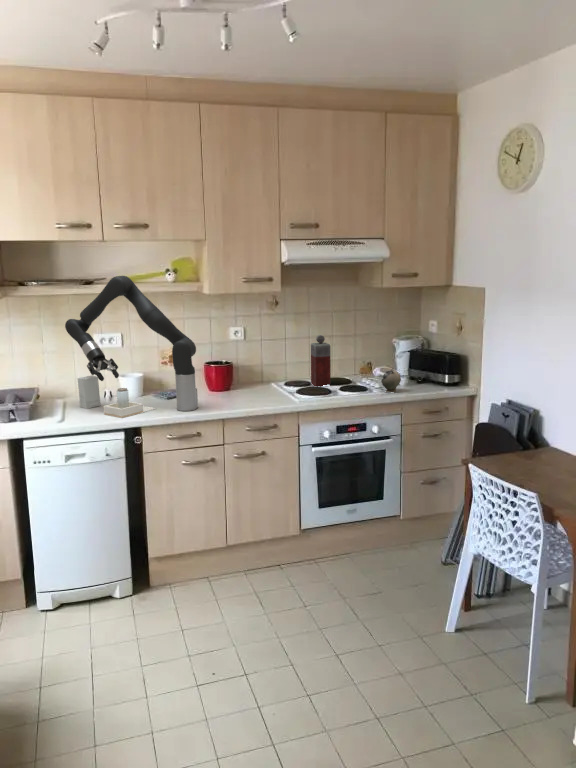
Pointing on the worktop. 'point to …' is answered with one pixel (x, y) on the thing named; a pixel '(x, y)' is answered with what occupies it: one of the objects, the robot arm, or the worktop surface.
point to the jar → (122, 398)
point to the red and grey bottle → (320, 362)
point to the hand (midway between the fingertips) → (110, 378)
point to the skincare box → (89, 391)
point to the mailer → (125, 410)
